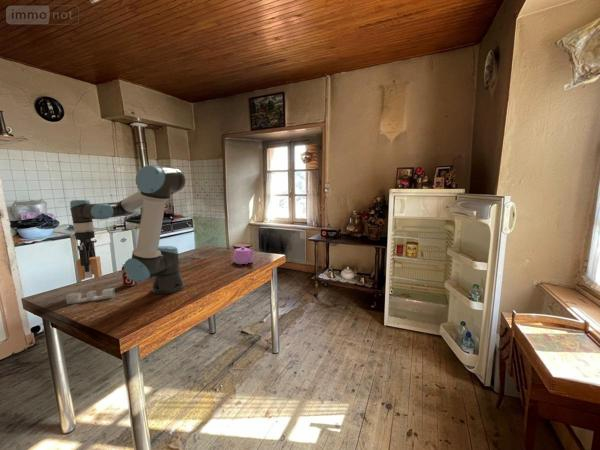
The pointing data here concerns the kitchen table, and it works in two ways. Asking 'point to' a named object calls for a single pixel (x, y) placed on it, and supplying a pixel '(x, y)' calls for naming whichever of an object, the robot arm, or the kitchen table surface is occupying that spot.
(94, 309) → the kitchen table surface
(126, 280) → the soda can
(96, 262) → the upright orange wooden block
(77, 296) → the grey segmented bar
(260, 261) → the kitchen table surface
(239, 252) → the teapot
